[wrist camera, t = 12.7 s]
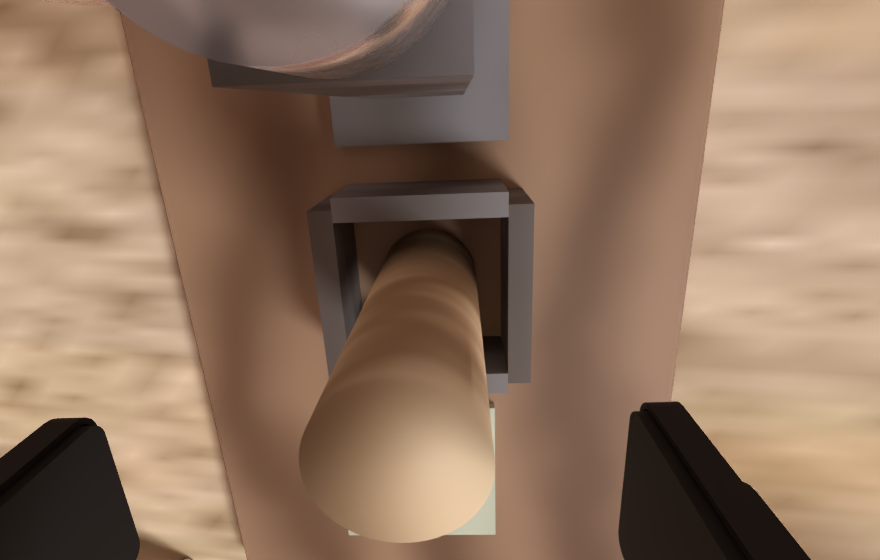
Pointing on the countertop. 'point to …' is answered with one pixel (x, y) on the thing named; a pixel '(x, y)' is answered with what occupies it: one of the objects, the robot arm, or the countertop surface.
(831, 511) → the countertop surface
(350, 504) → the oak peg
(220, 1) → the locking bar
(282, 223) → the eye board
